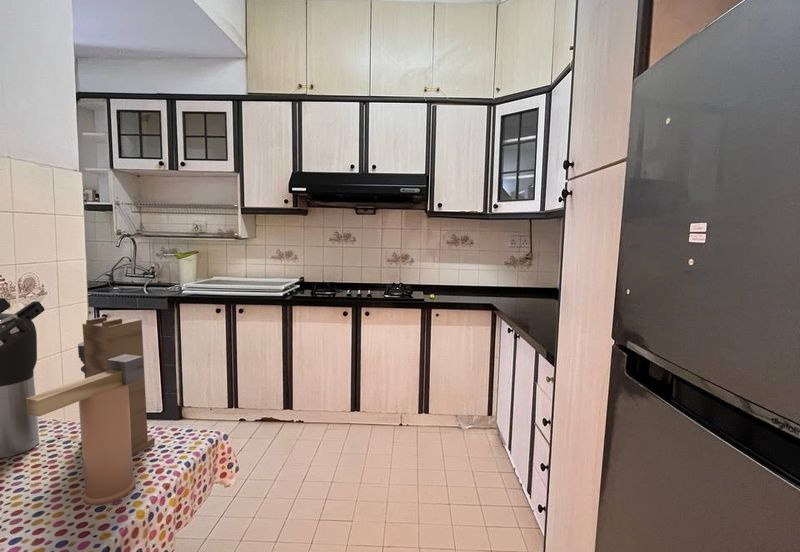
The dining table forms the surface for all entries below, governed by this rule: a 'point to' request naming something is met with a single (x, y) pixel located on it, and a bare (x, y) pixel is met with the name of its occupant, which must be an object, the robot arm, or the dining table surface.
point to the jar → (106, 446)
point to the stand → (111, 342)
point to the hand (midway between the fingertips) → (22, 303)
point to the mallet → (88, 385)
